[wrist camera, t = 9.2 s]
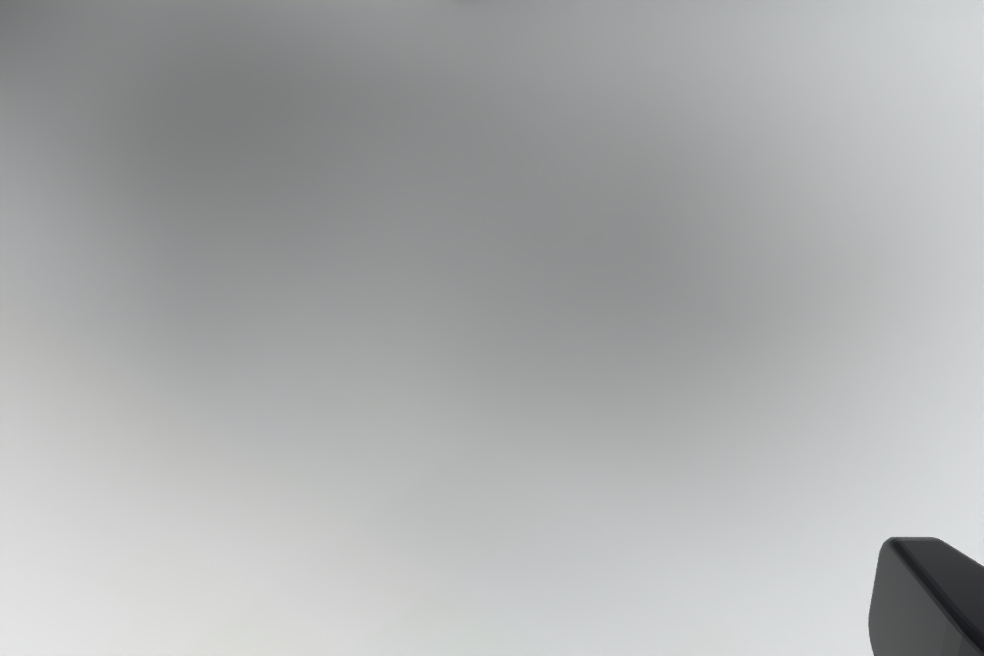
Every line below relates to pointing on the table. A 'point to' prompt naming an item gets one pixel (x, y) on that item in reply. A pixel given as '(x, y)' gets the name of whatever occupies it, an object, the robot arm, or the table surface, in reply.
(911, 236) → the table surface
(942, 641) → the robot arm
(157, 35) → the table surface
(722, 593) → the table surface
